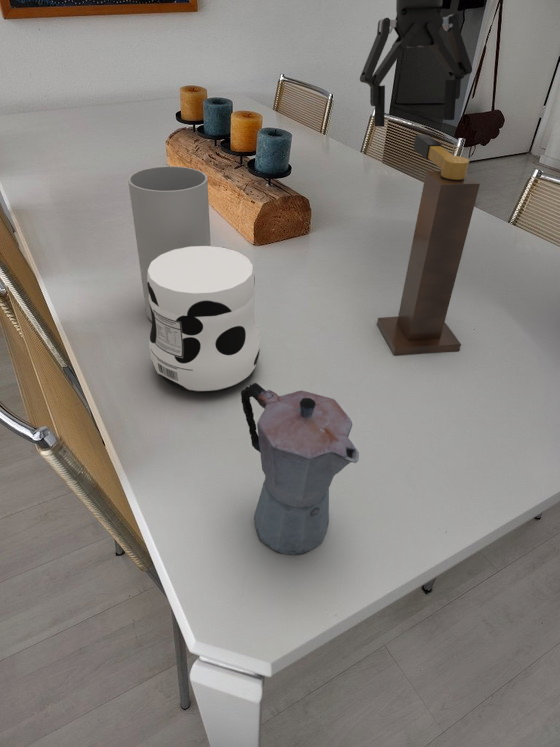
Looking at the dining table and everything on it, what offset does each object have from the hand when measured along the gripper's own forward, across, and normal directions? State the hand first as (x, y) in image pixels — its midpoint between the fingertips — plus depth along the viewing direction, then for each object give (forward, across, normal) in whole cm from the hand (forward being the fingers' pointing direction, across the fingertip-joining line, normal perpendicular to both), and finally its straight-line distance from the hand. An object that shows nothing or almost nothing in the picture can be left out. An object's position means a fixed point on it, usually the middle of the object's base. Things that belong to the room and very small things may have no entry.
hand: (414, 123), depth 99 cm
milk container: (+32, +45, +21) cm, 59 cm away
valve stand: (+34, +7, +18) cm, 39 cm away
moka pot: (+39, +39, +52) cm, 76 cm away
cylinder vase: (+29, +47, +3) cm, 56 cm away
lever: (+5, +4, +18) cm, 19 cm away
